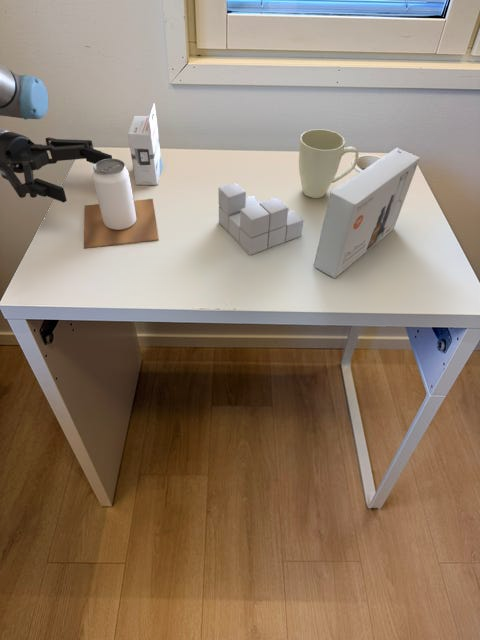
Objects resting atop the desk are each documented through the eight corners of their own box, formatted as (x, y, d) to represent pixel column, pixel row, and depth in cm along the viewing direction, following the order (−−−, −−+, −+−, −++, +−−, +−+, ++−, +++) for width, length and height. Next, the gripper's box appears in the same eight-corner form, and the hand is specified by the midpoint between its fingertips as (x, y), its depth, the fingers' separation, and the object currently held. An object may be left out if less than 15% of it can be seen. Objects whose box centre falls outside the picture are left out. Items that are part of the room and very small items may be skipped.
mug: (317, 210, 97) (326, 157, 89) (285, 189, 103) (290, 137, 94) (352, 193, 102) (364, 140, 93) (320, 174, 107) (328, 122, 98)
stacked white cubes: (301, 236, 91) (306, 201, 86) (249, 255, 87) (251, 220, 81) (268, 205, 98) (270, 171, 92) (218, 222, 94) (218, 187, 88)
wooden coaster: (83, 248, 88) (83, 247, 87) (85, 206, 97) (84, 205, 97) (158, 240, 90) (158, 239, 89) (152, 199, 99) (152, 198, 99)
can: (143, 218, 94) (134, 163, 85) (121, 235, 90) (110, 179, 81) (119, 208, 96) (108, 153, 87) (96, 224, 92) (83, 168, 83)
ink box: (141, 165, 108) (131, 100, 97) (162, 165, 108) (155, 101, 97) (135, 185, 103) (124, 118, 92) (157, 185, 103) (149, 119, 92)
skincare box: (336, 281, 83) (355, 204, 71) (312, 267, 85) (325, 190, 74) (397, 229, 93) (421, 155, 82) (373, 218, 96) (394, 144, 84)
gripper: (56, 142, 106) (132, 167, 99) (-36, 195, 91) (46, 228, 84) (47, 109, 100) (126, 132, 94) (-53, 159, 85) (34, 191, 78)
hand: (88, 178), depth 89 cm, fingers open, 13 cm apart
